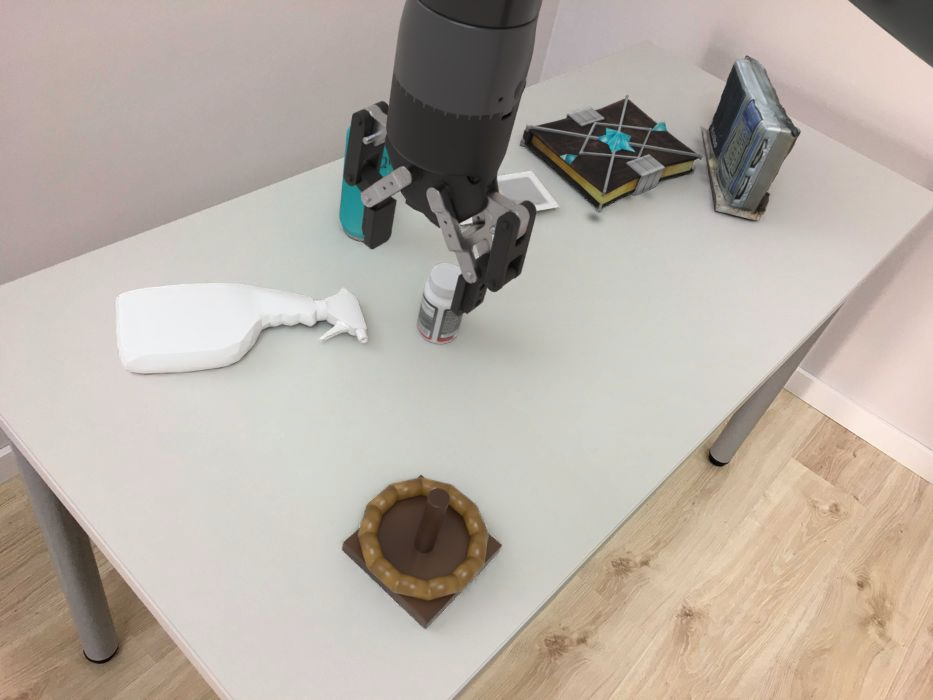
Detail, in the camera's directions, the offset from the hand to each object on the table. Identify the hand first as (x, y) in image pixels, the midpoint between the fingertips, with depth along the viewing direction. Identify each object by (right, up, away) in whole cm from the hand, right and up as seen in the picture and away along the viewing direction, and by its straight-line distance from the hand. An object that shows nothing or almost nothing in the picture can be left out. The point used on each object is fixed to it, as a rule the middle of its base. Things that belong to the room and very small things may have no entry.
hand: (419, 275), depth 57 cm
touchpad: (+7, +14, +48) cm, 51 cm away
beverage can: (-9, +9, +40) cm, 42 cm away
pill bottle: (0, -3, +31) cm, 32 cm away
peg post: (-1, -23, +13) cm, 27 cm away
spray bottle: (-20, -3, +26) cm, 33 cm away
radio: (+42, +21, +63) cm, 79 cm away
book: (+24, +23, +60) cm, 68 cm away
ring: (0, -22, +12) cm, 25 cm away
